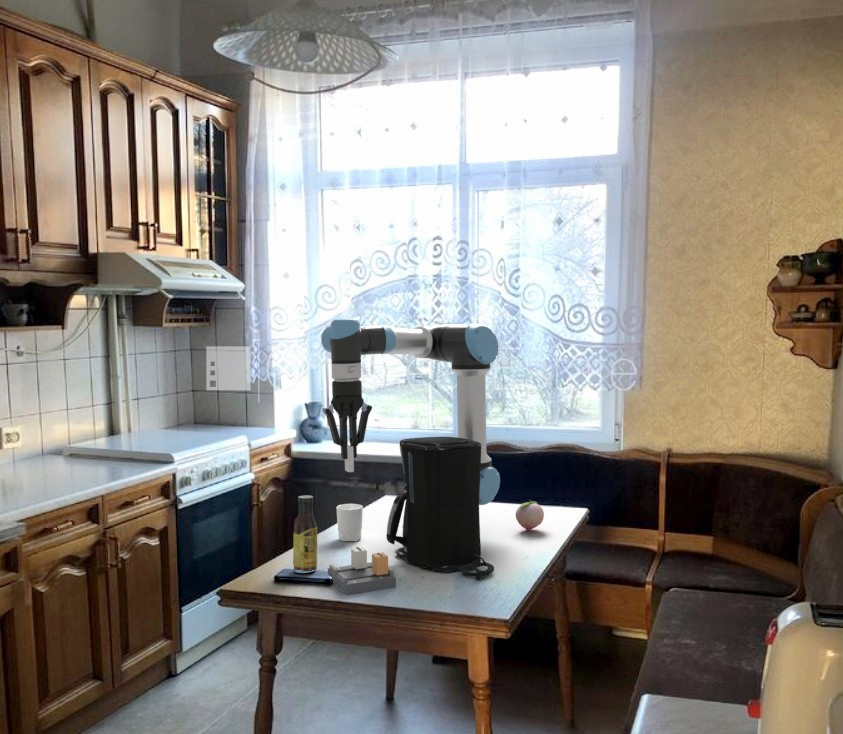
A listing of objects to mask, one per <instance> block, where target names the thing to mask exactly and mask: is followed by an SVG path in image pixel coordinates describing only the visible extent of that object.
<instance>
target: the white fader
mask: <svg viewBox="0 0 843 734" xmlns="http://www.w3.org/2000/svg"><path fill="white" fill-rule="evenodd" d="M350 559H351V560H350V561H351V562H350V563H351V564H350V565H351V566H353V567H354V568H355V569H361V568H367V563H368V551H367V549H366V548H364V547H363V546H356V547H351V548H350Z"/></svg>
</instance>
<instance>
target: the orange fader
mask: <svg viewBox="0 0 843 734" xmlns="http://www.w3.org/2000/svg"><path fill="white" fill-rule="evenodd" d="M371 562H372V572H373V573H375V574H376V575H384V574H388V567H389V555H387V554H386V553H385V552H376V553H371Z"/></svg>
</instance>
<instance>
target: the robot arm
mask: <svg viewBox="0 0 843 734" xmlns="http://www.w3.org/2000/svg"><path fill="white" fill-rule="evenodd" d="M320 338H321V339H320V340H321V342H320V343H321V346H322V348H323V349H324V350H325V351H326V352H329V353H330V358H331V379H333V380H332V381H331V388H332V389H331V390H332V391H331V392H332V393H331V394H332V399H331V400H330V401H331V402H330V404H329V405H328V406H327V407H324V408H322V413H323V414H324V415H325V417H326V419H327V423H328V427H329V431H330V433H331V438H332V442H333V444H335V445H337V446H339V447H340V458H341V459H342V460H344V471H346V472H348V473H354V472H355V465H354V464H355V460H354V459H356V458H357V456H358V451H357V449H358V448H357V447H358V445H360V444H362V443H363V442H364V441H365V435H366V431H367V427H368V426H367V425H368V421H369V415H370V413H371V411H372V410H373V406H372V405H370V404H367V403H366V402H365V401H364V398H363V390H362V389H363V387H362V381H361V378H362V356H366V355H369V356H370V355H413V356H414V357H415V358H418V359H428V360H434V361H441V362H447V363H451V371H453V373H454V374H455V375H456V403H457V404H456V405H457V406H456V407H457V408H456V410H457V411H456V412H457V413H456V414H457V438H465V439H469V440H472V441H477V442H480V443H481V469H480V493H479V506H484V505H488V504H490V503H491V502H492V501H493V500H494V499H495V497H496V495H497V494H498V492H499V489H500V486H501V485H500V484H501V476H500V472H498V469H496V468H495V467H493V466H492V457H490V455H488V453H487V402H486V401H487V400H486V399H487V397H486V395H487V394H486V393H487V391H486V388H487V386H486V375H487V374H488V372H489V371H490V370H491V364H492V363H494V362H495V360H496V359H497V357H498V354H499V341H498V338H497V336H496V334H495V332H494V331H493V330H492V328H491V327H490V326H488V325H486V324H480V323H459V324H458V323H457V324H456V323H453V324H452V323H447V324H439V325H432V326H431V325H430V326H422V325H421V326H417V327H415V328H414V329H412V328H410V329H409V328H394V327H391V326H389V325H383V324H378V325H361V323H360V320H359V319H357V318H349V319H347V318H346V319H345V318H343V319H342V318H341V319H334V320H332V321H331V322H330V326H327V327H325V328H324V330H323V331H322V333H321V337H320ZM359 411H361V413H360V415H359V416H360V417H359V423H358V426H357V422H358V421H357V420H358V413H359ZM335 412H336V414H337V415H338V420H339V431H338V427H337V426H338V425H337V422H336V418H335V416H334V413H335ZM348 428H349V429H348ZM348 433H349V437H348ZM348 438H349V444H348Z"/></svg>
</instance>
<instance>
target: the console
mask: <svg viewBox="0 0 843 734" xmlns="http://www.w3.org/2000/svg"><path fill="white" fill-rule="evenodd" d="M394 574H395V572H394V570H393V569H391V567H389V566H388V574H384V575H376V574H375V573H373V572H372V561H371V562H367V568H361V569H355V568H354V567H353V566H351V564H350V565H343V566H336V567H335V565H333V564H329V566H328V568H327V576H328V575H329V576H331V577H332V580H333V582H332V583H333V584H334V585H335V586H336V585H337V586H336V588H338V587H339V588H340V589H341V590H342V591H343V594H345V596H349V595H354V594H361V593H367V592H373V591H378V589H380V590H384V589H385V588H387V589H391V588H392V587H393V588H397V577H396V576H395V575H394ZM339 588H338V589H339ZM340 589H339V590H340ZM341 590H340V591H341ZM385 590H386V589H385ZM342 591H341V592H342Z"/></svg>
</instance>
